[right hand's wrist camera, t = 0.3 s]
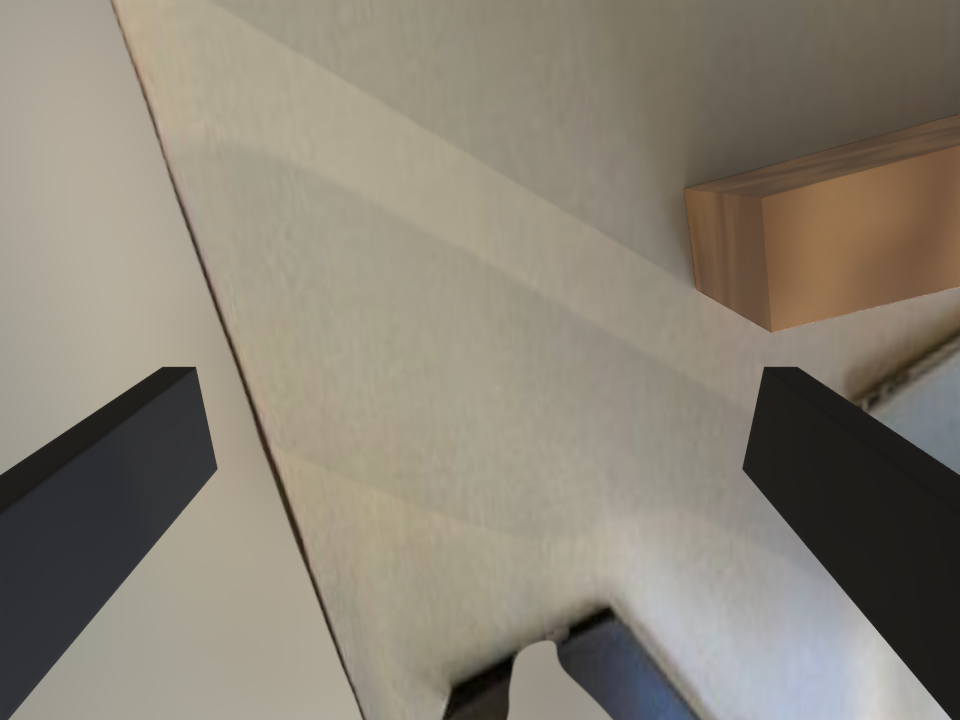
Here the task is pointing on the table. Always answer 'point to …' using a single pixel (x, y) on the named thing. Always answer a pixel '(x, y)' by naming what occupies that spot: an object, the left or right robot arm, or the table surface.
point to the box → (832, 229)
